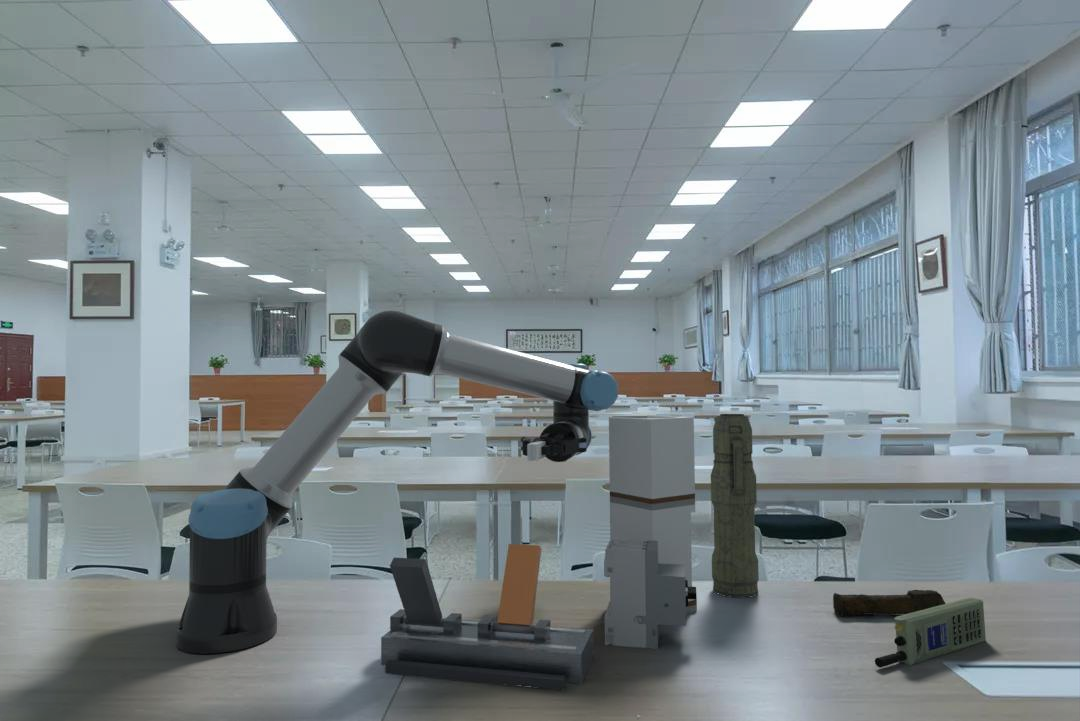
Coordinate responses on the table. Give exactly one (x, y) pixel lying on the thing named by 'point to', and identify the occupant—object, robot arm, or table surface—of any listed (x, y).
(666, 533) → the white banded pillar
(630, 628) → the circuit breaker
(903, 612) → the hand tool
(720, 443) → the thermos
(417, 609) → the lever on
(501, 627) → the lever
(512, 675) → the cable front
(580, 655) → the grey slotted holder
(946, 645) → the handheld radio
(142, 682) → the table surface
